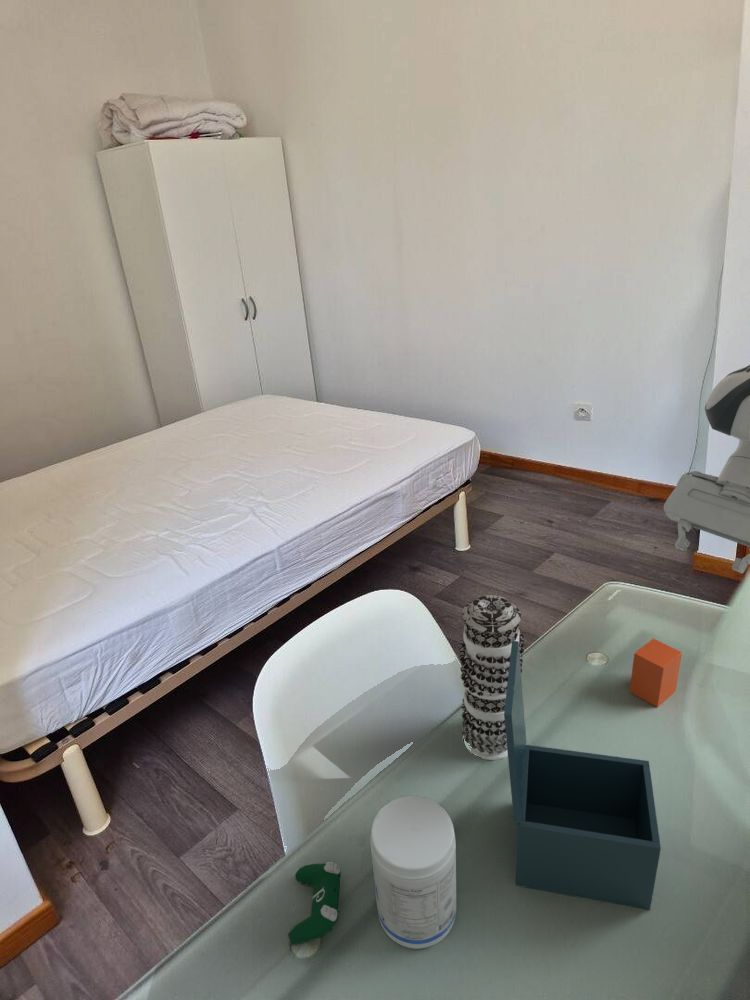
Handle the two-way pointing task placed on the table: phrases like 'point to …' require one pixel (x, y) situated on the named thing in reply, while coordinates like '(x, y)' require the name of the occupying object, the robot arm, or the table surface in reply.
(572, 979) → the table surface
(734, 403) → the robot arm
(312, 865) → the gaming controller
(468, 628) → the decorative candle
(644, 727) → the table surface
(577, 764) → the dark teal open box
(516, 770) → the lid
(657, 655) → the block
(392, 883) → the supplement tub
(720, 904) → the table surface
